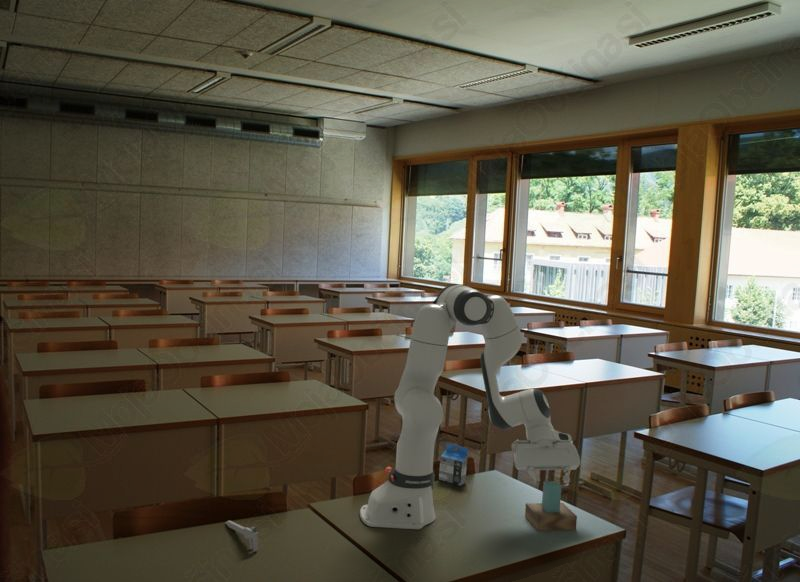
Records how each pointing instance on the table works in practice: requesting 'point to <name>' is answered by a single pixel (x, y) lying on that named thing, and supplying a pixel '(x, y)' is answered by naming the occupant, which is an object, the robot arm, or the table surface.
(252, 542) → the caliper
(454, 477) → the label tape box
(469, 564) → the table surface
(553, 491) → the teal column
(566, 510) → the walnut block
